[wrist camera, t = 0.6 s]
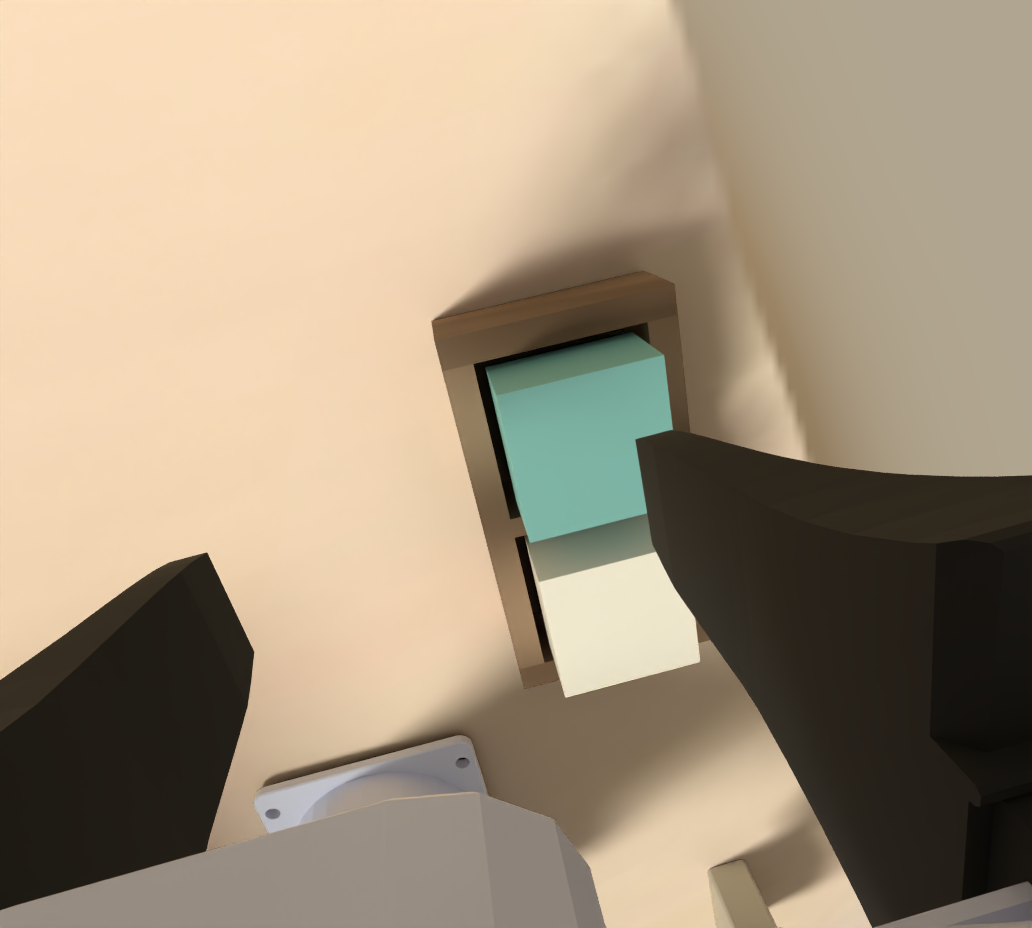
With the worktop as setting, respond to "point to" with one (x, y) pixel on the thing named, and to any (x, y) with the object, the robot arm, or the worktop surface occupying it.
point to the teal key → (579, 431)
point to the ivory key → (610, 606)
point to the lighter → (737, 898)
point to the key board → (460, 345)
